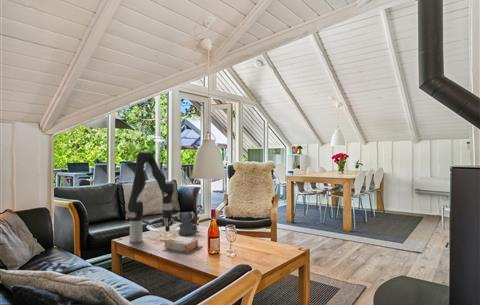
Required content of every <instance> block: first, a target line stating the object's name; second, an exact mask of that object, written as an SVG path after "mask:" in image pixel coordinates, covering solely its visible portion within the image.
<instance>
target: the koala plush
mask: <svg viewBox="0 0 480 305" xmlns="http://www.w3.org/2000/svg"><path fill="white" fill-rule="evenodd" d="M176 215H177V216H176V217H177V219H178V220H179V221H181V222H180V223H179V224H178V225H177V226H178V227H180V230H179V229H178V234H179V235H182V236H189V235H190V236H191V235H194V234H195V233H196V232H197V230H198V225H197V223H193V222H192V220H193V218H194V217H195V213H194V211H190V212H186V211H185V212H177V214H176ZM178 227H177V228H178Z"/></svg>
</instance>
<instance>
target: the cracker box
mask: <svg viewBox="0 0 480 305" xmlns="http://www.w3.org/2000/svg"><path fill="white" fill-rule="evenodd" d="M166 240H167V241H164V250H165V249H171V250H178V251H184V252H188V251H190V250H192V249H194V248H196V247H198V246H199V239H198V238H190V237H183V236H174V237H172V238H169V239H166Z"/></svg>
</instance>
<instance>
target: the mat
mask: <svg viewBox="0 0 480 305" xmlns="http://www.w3.org/2000/svg"><path fill="white" fill-rule="evenodd" d="M202 248H204V246H203V245H198V247H196V248H194V249H192V250H190V251H188V252H184V251H178V250H171V249H165V248H164V249H163V252H168V253H169V252H170V253H174V254H181V255H187V256H189V255H190V254H192V253H195V252H196V251H198V250H200V249H202Z"/></svg>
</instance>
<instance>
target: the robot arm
mask: <svg viewBox="0 0 480 305" xmlns="http://www.w3.org/2000/svg"><path fill="white" fill-rule="evenodd" d="M145 164H148V165H149V166H150V168H151V173H152V177H153V178H154V180H155V181H156V182H157V184H158V187H159V189H160V191H161V192H162V193H164V195H163V196H162V204H161V206H162V207H161V210H162V217H161V218H159V219H160V222H161V224H162V226H164V227H165V230H164V231H165V232H170V229H171V228H170V227H171V226H173V224H174V222H175V219H174V218H173V199H172V198H173V194H174V190H175V189H174V187H175V186H174V184H173V183H172V182H166V180H167V179H166V176H165V175H164V173H163V171H162V170H161V169H160V167H159V166H158V164H157V161H156V159H155V157H154V155H153V154H152V152H150V151H139V152H138V154H137V156H136V162H135V172H134V177H133V183H132V189H131V193H130V196H129V200H128V203H127V210H128V212H129V213H133V215H131V216H130V218H129V220H130V222H129V226H130V227H129V231H128V232H129V242H130V243H134V244H135V243H136V244H137V243H141V242H142V241H143V216H144V203H143V202H142V200H140V199H138V198H139V196H140V194H141V193H142V192H143V190H144V188H146V187H145V186H146V181H147V179H146V174H145V172H144V168H145Z"/></svg>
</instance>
